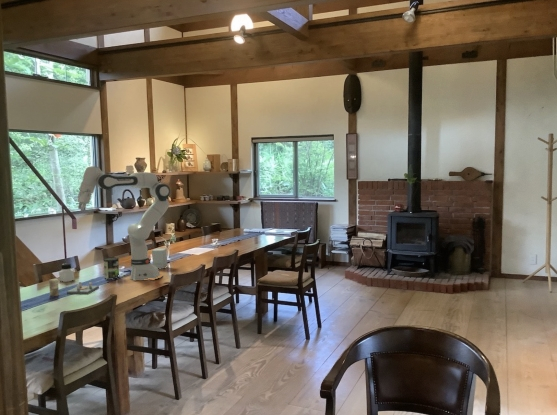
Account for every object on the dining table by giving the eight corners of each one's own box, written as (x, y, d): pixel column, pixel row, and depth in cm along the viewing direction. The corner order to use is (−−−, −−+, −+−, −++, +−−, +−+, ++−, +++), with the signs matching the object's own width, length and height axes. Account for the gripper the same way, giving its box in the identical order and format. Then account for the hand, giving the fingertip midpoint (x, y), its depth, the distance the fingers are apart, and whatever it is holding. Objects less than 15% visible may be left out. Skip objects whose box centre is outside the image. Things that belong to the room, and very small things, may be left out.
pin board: (98, 288, 309) (98, 280, 309) (87, 294, 295) (87, 286, 295) (78, 287, 311) (78, 280, 310) (67, 293, 297) (66, 285, 296)
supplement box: (167, 266, 369) (167, 248, 368) (163, 269, 360) (163, 250, 359) (156, 266, 370) (155, 248, 369) (152, 269, 361) (151, 250, 360)
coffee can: (122, 276, 340) (121, 257, 339) (114, 279, 330) (113, 260, 329) (109, 275, 342) (108, 257, 341) (101, 279, 332) (100, 259, 331)
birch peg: (60, 294, 296) (59, 278, 295) (55, 296, 291) (54, 280, 290) (53, 294, 296) (52, 278, 295) (48, 296, 291) (47, 280, 290)
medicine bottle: (74, 280, 332) (73, 263, 331) (65, 282, 326) (64, 265, 325) (68, 278, 336) (67, 262, 334) (59, 281, 330) (58, 264, 328)
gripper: (95, 191, 304) (89, 211, 302) (88, 190, 321) (82, 209, 319) (85, 188, 300) (78, 209, 299) (79, 187, 317) (73, 207, 316)
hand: (80, 209), depth 309 cm, fingers open, 8 cm apart
